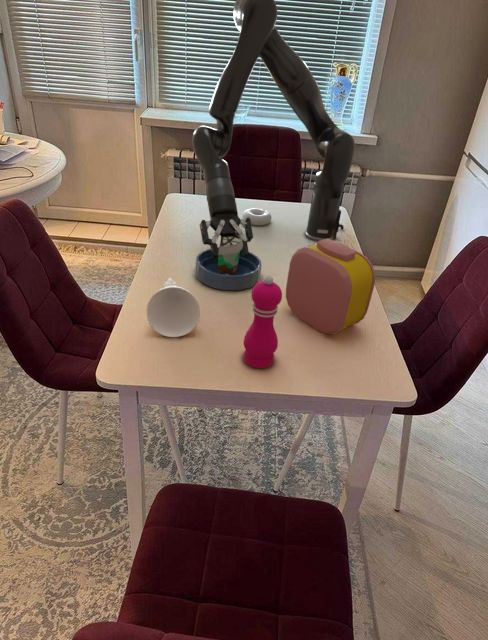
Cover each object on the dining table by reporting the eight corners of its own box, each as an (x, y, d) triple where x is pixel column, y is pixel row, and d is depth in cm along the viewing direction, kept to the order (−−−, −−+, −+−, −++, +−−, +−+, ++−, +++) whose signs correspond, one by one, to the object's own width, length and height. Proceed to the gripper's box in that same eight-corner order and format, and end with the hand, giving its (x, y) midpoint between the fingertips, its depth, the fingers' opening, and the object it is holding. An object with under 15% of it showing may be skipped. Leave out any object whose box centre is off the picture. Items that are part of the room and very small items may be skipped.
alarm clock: (364, 330, 119) (384, 256, 108) (335, 344, 113) (353, 268, 102) (309, 297, 130) (321, 227, 119) (279, 309, 123) (289, 236, 112)
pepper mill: (273, 350, 109) (286, 268, 97) (276, 370, 103) (289, 286, 91) (241, 348, 108) (249, 266, 97) (242, 369, 102) (251, 283, 91)
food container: (240, 283, 131) (243, 249, 125) (217, 282, 130) (218, 247, 124) (241, 263, 140) (244, 229, 135) (219, 261, 140) (221, 227, 134)
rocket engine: (170, 256, 120) (170, 276, 104) (205, 287, 125) (211, 310, 108) (140, 290, 123) (135, 315, 106) (175, 319, 127) (176, 347, 111)
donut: (265, 216, 176) (238, 216, 173) (266, 206, 174) (239, 206, 171) (274, 226, 168) (247, 227, 165) (276, 217, 166) (248, 217, 163)
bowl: (247, 259, 145) (248, 245, 142) (269, 288, 132) (270, 273, 129) (189, 263, 140) (189, 249, 137) (205, 294, 126) (206, 278, 124)
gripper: (198, 193, 127) (208, 254, 125) (250, 192, 132) (260, 250, 130) (192, 206, 134) (202, 264, 133) (242, 204, 139) (252, 260, 137)
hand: (231, 257), depth 131 cm, fingers closed on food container, 7 cm apart
